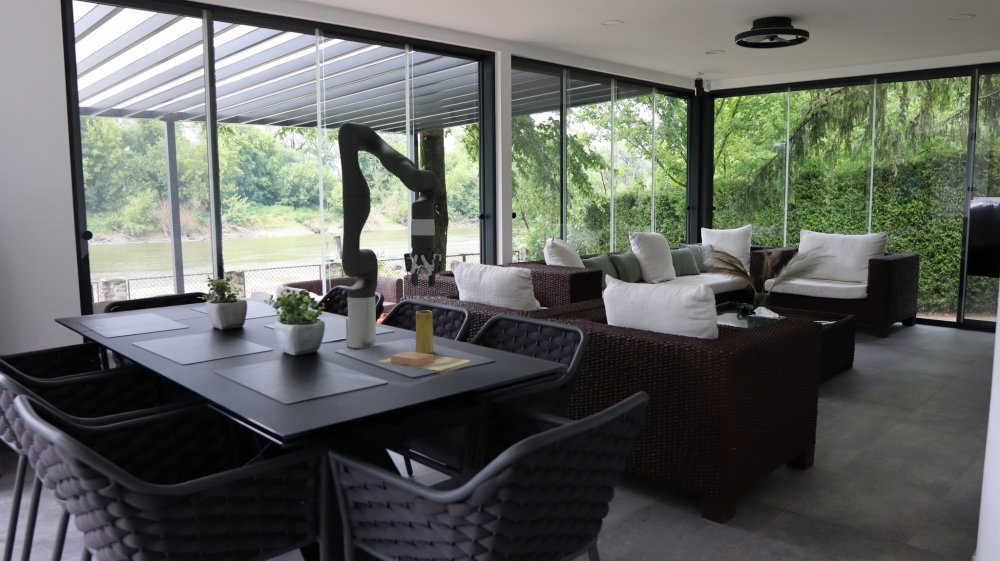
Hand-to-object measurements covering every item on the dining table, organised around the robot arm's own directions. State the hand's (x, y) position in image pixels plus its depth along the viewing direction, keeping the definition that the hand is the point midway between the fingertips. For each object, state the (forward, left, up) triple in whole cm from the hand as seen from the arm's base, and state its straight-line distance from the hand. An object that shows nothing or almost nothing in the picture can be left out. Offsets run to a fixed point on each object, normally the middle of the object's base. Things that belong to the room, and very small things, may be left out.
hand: (423, 286), depth 233 cm
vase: (0, 0, -23) cm, 23 cm away
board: (+8, -11, -23) cm, 26 cm away
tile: (+1, -14, -20) cm, 25 cm away
